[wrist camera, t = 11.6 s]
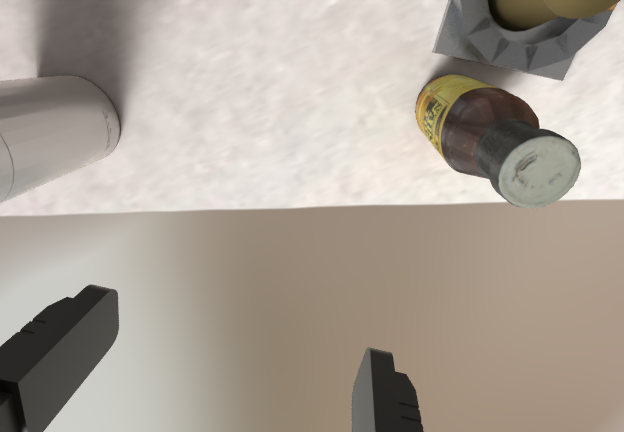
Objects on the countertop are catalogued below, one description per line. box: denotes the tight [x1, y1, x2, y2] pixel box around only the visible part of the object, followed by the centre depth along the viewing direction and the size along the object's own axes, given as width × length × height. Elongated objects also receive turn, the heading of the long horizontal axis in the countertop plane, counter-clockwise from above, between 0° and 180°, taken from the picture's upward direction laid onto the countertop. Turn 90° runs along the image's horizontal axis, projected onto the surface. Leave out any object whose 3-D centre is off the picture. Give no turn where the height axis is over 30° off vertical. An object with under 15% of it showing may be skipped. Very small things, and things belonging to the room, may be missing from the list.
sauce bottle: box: [415, 75, 581, 208], centre depth 28 cm, size 6×6×20 cm
